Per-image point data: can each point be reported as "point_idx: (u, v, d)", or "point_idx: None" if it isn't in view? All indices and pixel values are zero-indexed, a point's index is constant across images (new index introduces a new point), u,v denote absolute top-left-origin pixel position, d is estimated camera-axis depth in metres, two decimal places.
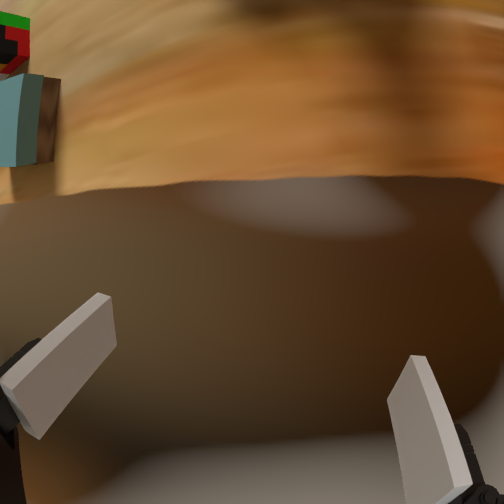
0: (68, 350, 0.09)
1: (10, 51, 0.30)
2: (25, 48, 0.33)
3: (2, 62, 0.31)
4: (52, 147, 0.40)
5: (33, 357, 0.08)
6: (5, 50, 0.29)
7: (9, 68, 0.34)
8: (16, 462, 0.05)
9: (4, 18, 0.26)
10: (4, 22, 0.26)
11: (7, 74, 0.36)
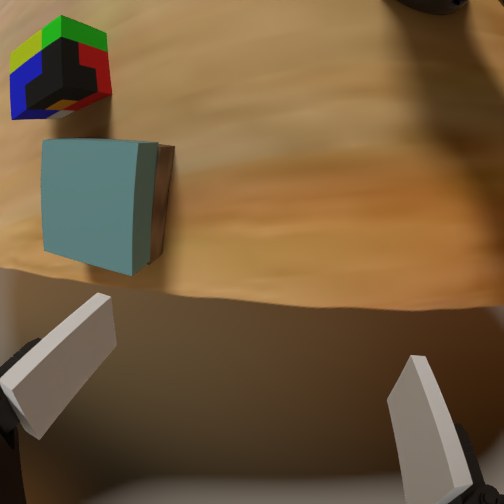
0: (68, 350, 0.09)
1: (89, 85, 0.28)
2: (106, 80, 0.31)
3: (72, 98, 0.29)
4: (163, 237, 0.38)
5: (33, 357, 0.08)
6: (82, 84, 0.27)
7: (78, 105, 0.32)
8: (16, 462, 0.05)
9: (75, 30, 0.24)
10: (76, 36, 0.24)
11: (73, 110, 0.34)
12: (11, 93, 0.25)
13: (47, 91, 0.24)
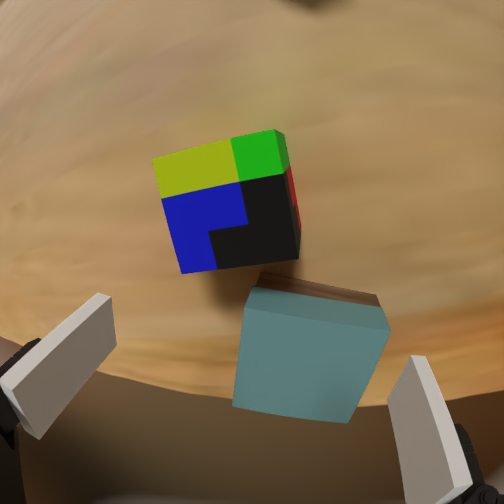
0: (68, 350, 0.09)
1: (299, 233, 0.28)
2: (298, 212, 0.31)
3: None
4: None
5: (33, 357, 0.08)
6: (298, 238, 0.27)
7: None
8: (16, 462, 0.05)
9: (282, 150, 0.24)
10: (284, 160, 0.24)
11: None
12: (173, 233, 0.25)
13: (264, 256, 0.24)
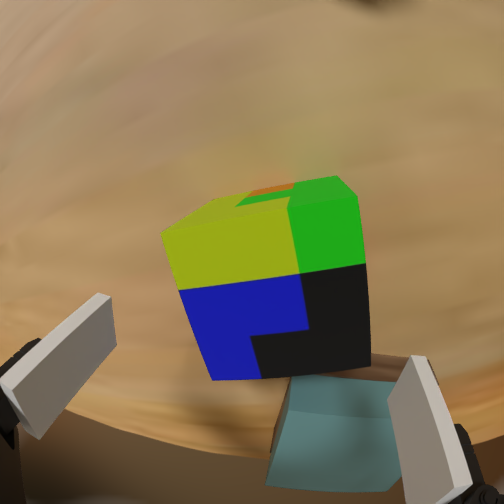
0: (68, 351, 0.09)
1: None
2: None
3: None
4: None
5: (33, 357, 0.08)
6: None
7: None
8: (16, 462, 0.05)
9: None
10: None
11: None
12: (199, 335, 0.17)
13: (327, 365, 0.17)
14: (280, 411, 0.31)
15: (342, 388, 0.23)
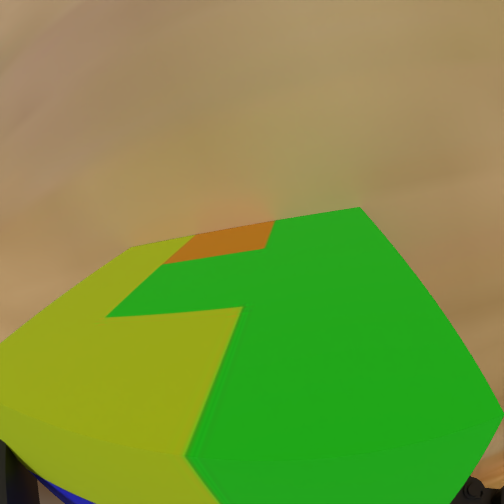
0: None
1: None
2: None
3: None
4: None
5: None
6: None
7: None
8: None
9: None
10: None
11: None
12: None
13: None
14: None
15: None
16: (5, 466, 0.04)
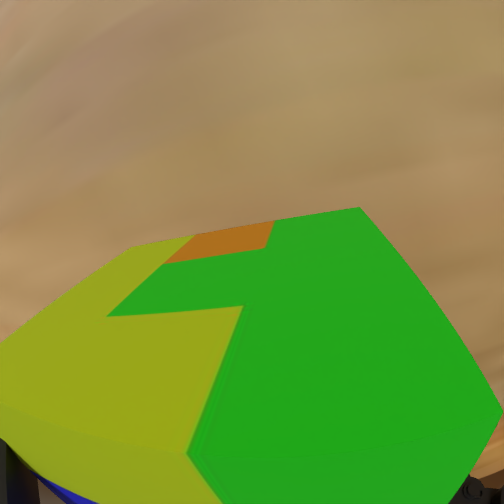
0: None
1: None
2: None
3: None
4: None
5: None
6: None
7: None
8: None
9: None
10: None
11: None
12: None
13: None
14: None
15: None
16: (5, 466, 0.04)
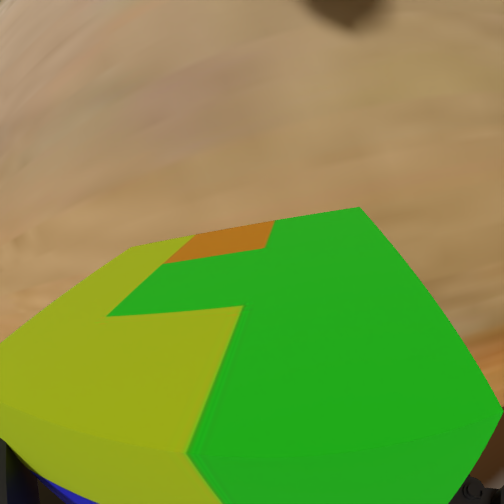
0: None
1: None
2: None
3: None
4: None
5: None
6: None
7: None
8: None
9: None
10: None
11: None
12: None
13: None
14: None
15: None
16: (5, 466, 0.04)
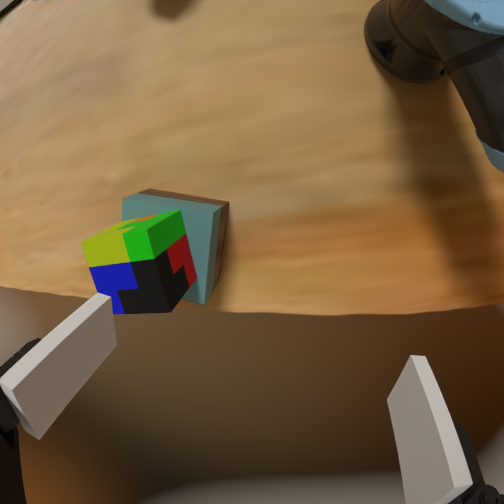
0: (68, 350, 0.09)
1: (183, 288, 0.39)
2: (191, 269, 0.42)
3: None
4: (219, 269, 0.52)
5: (33, 357, 0.08)
6: (179, 294, 0.37)
7: None
8: (16, 462, 0.05)
9: (161, 236, 0.34)
10: (163, 243, 0.35)
11: None
12: (98, 289, 0.35)
13: (150, 308, 0.35)
14: None
15: (157, 198, 0.44)
16: None
